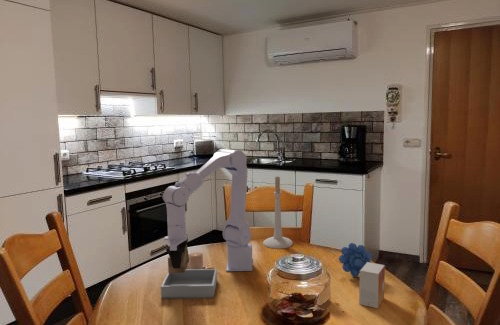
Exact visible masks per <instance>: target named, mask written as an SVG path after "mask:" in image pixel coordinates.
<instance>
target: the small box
mask: <svg viewBox="0 0 500 325" xmlns="http://www.w3.org/2000/svg"><path fill="white" fill-rule="evenodd" d="M370 262H371V261H370ZM370 262H367V263H366V264H365V265H364V267H363V268H362V269H361V270H360V273H359V282H358V283H359V289H358V290H359V292H358V294H359V295H358V304H359V305H361V306H366V307H369V308H374V309H379V308H380V305H381V304H382V302H383V300H384V299H385V281H386V280H385V277H386V276H385V275H386V272H385V271H386V265H385V264H380V263H374V262H371V263H370ZM383 298H384V299H383ZM380 303H381V304H380Z"/></svg>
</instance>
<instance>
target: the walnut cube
mask: <svg viewBox="0 0 500 325" xmlns="http://www.w3.org/2000/svg"><path fill="white" fill-rule="evenodd" d="M187 263H188V262H187V261H186V252H183V253H182V258H181V266H180V268H173V266H172V262H171V259H170V256H169V255H168V256H167V266H168V267H167V269H168V270H167V273H168V272H169V273H184V272H185V270H186V269H187V266H188V265H187Z"/></svg>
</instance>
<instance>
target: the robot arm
mask: <svg viewBox="0 0 500 325" xmlns="http://www.w3.org/2000/svg"><path fill="white" fill-rule="evenodd" d="M247 157H248V156H247V155H246V154H245V153H244V151H243V150H242V149H227V148H220V149H218V150H217V151H216V152H214V153H213V156H212V157H210V159H208V161H207V162H206V163H204V164H203V165H202V166H201V167H200V168H199V169H198V170H196V171H189V172H186V173H185V176H183V178H181V179H180V180H179V181H176V182H175V184H174V185H170V186H168V187H167V188H165V190H164V193H163V195H162V200H163V202H165V206H166V215H167V216H166V217H167V218H166V219H167V221H166V222H167V223H166V224H167V236H164V241H167V242H168V244H169V246H166V247H165V251H166V253H167V255H168V257H169V256H170V259H171V262H172V266H173V268H180V266H181V258H182V253H183V252H185V247H186V244H187V245H188V242H189V239H188V238H187V236H188V235H187V236H186V234H187V225H186V223H187V222H186V204H187V203H188V202H189V197H191V195H192V194H194V193H195V191H197V190H198V189H200V188H201V187H202V186H203V182H204V180H205V179H206V178H208V177H209V176H211V175H212V174H214V172H216V171H217V170H219V169H220V168H221V169H223V168H224V169H226V170H227V172H228V173H230V175H231V190H230V206H229V207H230V208H229V212H230V213H229V217H228V218H227V220H225V221H224V227H223V229H222V238H223V239H224V240H225V244H226V248H227V252H226V254H227V262H226V269H225V271H226V272H253V264H254V258H253V244H252V243H250V242H251V239H252V232H251V225H250V223H249V222H248V221H247V220H246V204H247V202H246V201H247V190H248V189H247V187H248V173H249V172H248V166H247Z"/></svg>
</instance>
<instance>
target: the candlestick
mask: <svg viewBox="0 0 500 325" xmlns="http://www.w3.org/2000/svg"><path fill="white" fill-rule="evenodd" d="M280 182H281V178H280V176H278V175H277V176H274V187H275V188H274V189H275V190H274V191H273V193H274V194H273V195H274V197H275V201H274V221H273V222H274V225H273V226H274V227H273V236H270V237H268V238H266V239H265V240H263V242H262V244H263V246H264V247H266V248H270V249H276V250H277V249H281V250H282V249H287V248H290V247H292V246H293V242H294V241H292V240H291V239H290V238H288V237H285V236H283V231H282V230H283V228H282V215H281V214H282V213H281V212H282V211H281V200H280V198H281V194H282V191H281V183H280Z"/></svg>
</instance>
